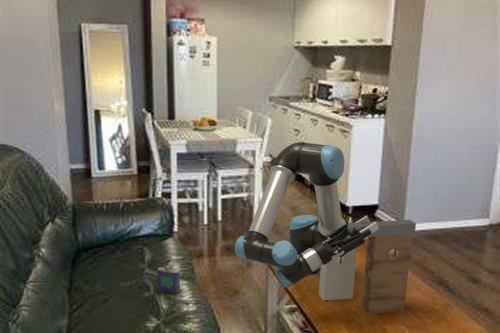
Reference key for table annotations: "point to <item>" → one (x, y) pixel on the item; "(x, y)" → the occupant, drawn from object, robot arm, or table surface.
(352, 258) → the cream rectangular box
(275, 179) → the robot arm
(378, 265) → the tall cabinet
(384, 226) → the grey square bar
